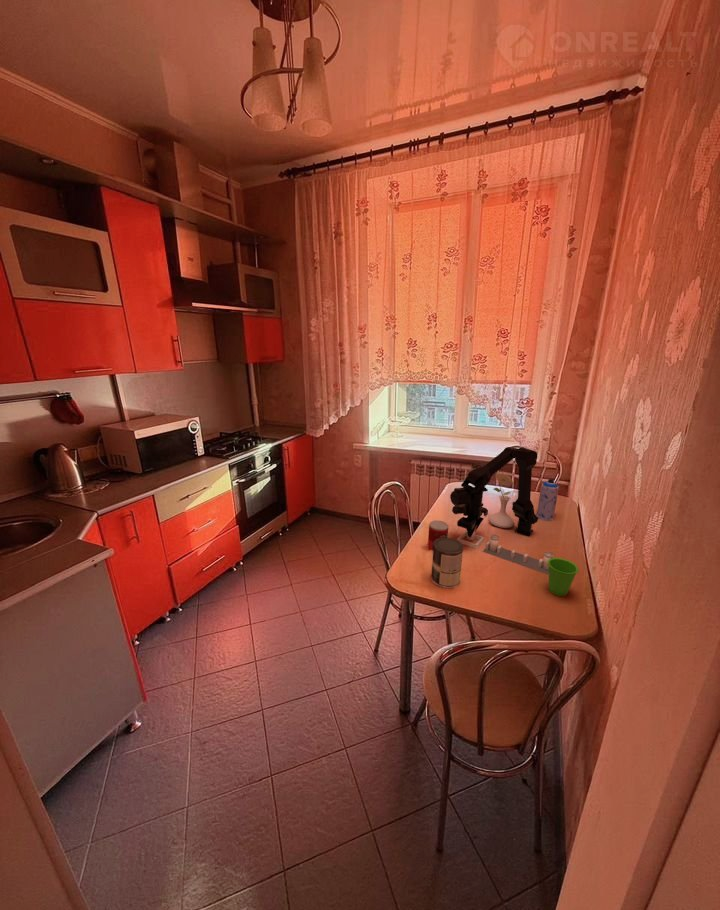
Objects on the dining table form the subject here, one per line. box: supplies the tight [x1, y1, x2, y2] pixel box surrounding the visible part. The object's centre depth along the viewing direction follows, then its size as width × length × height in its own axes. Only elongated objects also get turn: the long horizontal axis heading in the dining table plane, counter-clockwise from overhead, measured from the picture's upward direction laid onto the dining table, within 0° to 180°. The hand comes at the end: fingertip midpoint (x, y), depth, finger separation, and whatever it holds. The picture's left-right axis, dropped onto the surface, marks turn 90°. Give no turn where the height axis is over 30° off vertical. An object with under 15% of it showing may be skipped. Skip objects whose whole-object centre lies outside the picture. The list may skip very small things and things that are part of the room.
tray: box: [456, 530, 485, 549], centre depth 152 cm, size 9×9×2 cm
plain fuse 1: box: [489, 534, 500, 552], centre depth 145 cm, size 3×3×6 cm
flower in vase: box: [488, 471, 515, 529], centre depth 166 cm, size 13×11×25 cm
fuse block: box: [481, 541, 549, 576], centre depth 140 cm, size 8×26×3 cm, turn 51°
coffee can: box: [430, 537, 465, 589], centre depth 126 cm, size 10×10×14 cm
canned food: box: [427, 519, 449, 551], centre depth 147 cm, size 8×8×11 cm
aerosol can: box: [535, 478, 560, 522], centre depth 174 cm, size 8×8×20 cm
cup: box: [548, 557, 579, 597], centre depth 120 cm, size 9×9×11 cm
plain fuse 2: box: [542, 551, 555, 571], centre depth 133 cm, size 3×3×6 cm
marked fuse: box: [466, 529, 477, 541], centre depth 151 cm, size 3×3×6 cm
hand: (471, 535), depth 152 cm, fingers closed on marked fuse, 3 cm apart
